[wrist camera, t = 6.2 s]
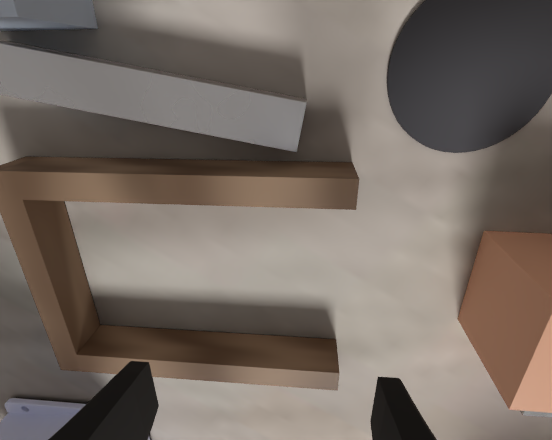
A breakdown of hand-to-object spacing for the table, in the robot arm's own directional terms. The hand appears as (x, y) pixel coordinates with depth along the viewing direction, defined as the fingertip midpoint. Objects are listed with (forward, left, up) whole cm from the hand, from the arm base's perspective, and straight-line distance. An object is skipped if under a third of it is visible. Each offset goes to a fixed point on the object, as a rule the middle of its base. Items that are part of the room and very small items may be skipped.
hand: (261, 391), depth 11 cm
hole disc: (+7, +9, -7) cm, 13 cm away
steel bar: (-5, +8, -7) cm, 12 cm away
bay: (-4, 0, -7) cm, 8 cm away
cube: (+12, 0, -7) cm, 13 cm away
